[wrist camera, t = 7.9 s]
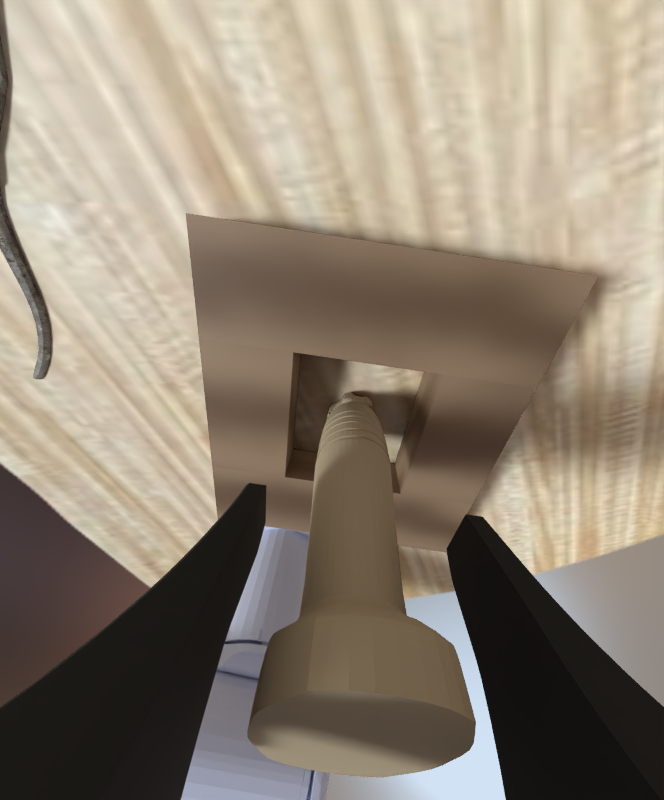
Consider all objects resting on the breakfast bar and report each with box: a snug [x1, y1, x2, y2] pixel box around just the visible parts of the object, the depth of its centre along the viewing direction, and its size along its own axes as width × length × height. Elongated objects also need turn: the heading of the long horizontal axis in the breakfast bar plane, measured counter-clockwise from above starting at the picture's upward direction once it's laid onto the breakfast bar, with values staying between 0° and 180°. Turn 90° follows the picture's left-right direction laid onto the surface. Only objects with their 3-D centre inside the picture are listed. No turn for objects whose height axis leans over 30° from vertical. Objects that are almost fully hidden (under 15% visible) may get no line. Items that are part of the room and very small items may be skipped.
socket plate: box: [186, 213, 598, 552], centre depth 18 cm, size 20×18×3 cm
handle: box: [247, 393, 476, 777], centre depth 13 cm, size 5×6×15 cm
